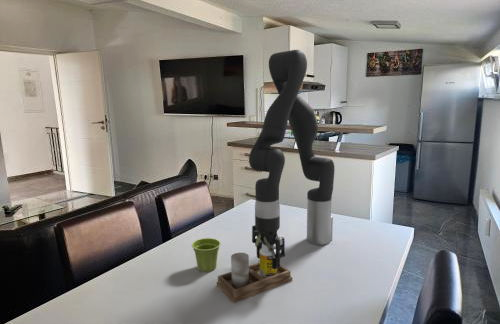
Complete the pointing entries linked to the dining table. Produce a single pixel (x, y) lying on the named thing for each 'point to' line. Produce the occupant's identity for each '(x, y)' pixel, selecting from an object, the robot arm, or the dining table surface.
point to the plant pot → (206, 253)
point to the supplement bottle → (266, 262)
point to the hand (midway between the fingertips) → (267, 262)
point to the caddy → (248, 279)
